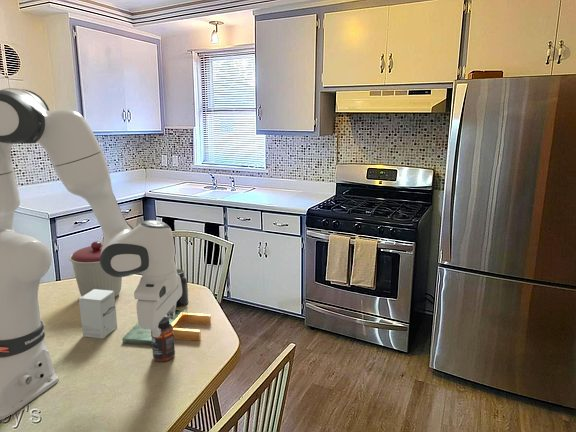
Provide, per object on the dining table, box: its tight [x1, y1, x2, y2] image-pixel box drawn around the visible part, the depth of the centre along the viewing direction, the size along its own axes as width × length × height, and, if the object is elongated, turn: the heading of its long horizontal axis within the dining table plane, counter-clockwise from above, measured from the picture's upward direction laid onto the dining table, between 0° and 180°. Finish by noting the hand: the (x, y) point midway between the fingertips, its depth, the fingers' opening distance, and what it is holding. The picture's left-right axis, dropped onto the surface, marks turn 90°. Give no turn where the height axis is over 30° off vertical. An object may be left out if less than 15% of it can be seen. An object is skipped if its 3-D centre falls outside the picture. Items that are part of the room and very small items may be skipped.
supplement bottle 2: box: [176, 268, 189, 308], centre depth 149 cm, size 7×7×12 cm
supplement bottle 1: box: [151, 317, 176, 363], centre depth 116 cm, size 6×6×11 cm
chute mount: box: [121, 309, 212, 346], centre depth 132 cm, size 20×22×3 cm
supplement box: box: [78, 289, 118, 340], centre depth 129 cm, size 7×7×13 cm
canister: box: [68, 240, 123, 298], centre depth 153 cm, size 18×18×21 cm
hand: (164, 326), depth 116 cm, fingers open, 8 cm apart
